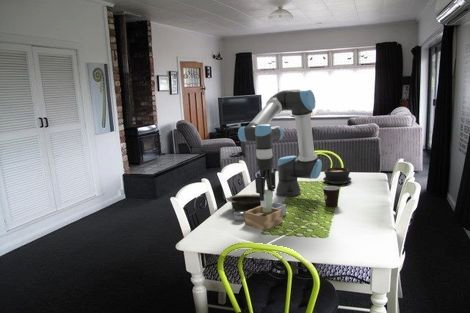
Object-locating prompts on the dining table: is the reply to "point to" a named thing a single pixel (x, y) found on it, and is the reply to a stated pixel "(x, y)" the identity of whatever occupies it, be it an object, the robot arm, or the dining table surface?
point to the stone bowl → (244, 202)
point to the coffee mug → (331, 196)
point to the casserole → (337, 175)
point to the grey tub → (280, 207)
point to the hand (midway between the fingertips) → (266, 205)
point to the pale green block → (267, 201)
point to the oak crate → (263, 218)
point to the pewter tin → (239, 216)
